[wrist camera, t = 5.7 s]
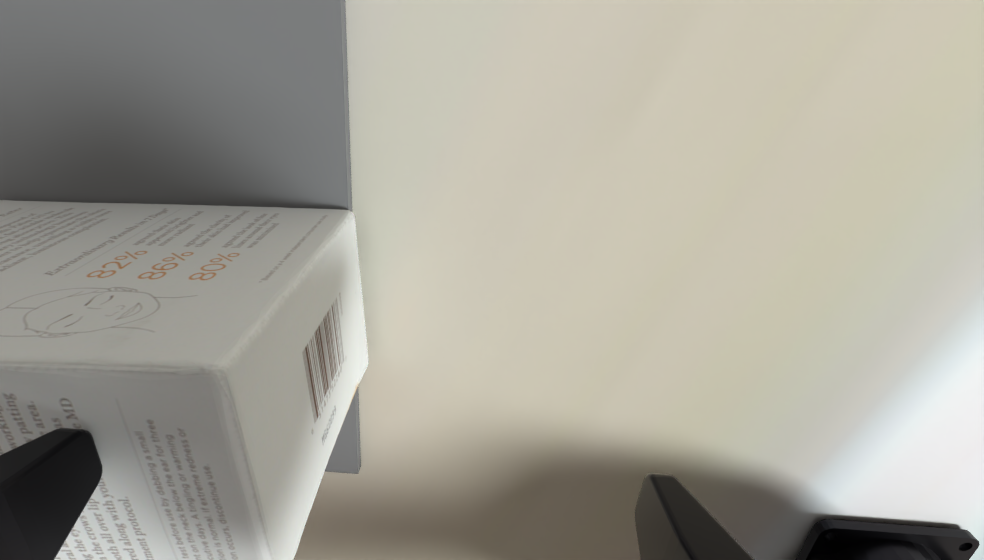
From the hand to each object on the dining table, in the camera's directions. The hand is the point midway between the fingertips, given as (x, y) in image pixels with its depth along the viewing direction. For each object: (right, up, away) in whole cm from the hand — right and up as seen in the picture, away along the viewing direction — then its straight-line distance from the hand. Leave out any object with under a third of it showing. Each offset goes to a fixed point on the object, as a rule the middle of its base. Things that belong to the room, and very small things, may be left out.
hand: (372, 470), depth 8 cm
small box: (-2, +1, +4) cm, 4 cm away
